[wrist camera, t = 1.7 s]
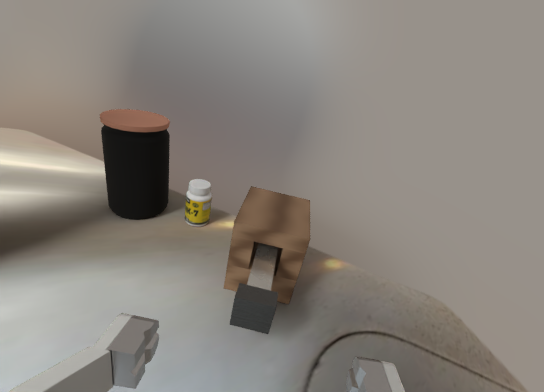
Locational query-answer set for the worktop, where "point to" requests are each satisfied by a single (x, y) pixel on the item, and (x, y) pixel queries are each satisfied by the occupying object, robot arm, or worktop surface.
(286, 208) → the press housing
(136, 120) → the coffee jar
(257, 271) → the plunger
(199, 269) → the worktop surface
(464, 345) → the worktop surface
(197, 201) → the supplement bottle
